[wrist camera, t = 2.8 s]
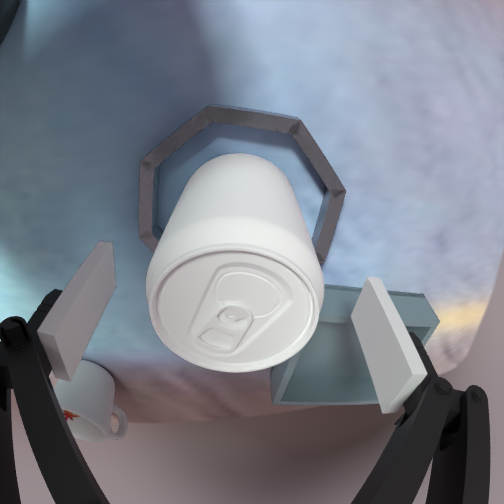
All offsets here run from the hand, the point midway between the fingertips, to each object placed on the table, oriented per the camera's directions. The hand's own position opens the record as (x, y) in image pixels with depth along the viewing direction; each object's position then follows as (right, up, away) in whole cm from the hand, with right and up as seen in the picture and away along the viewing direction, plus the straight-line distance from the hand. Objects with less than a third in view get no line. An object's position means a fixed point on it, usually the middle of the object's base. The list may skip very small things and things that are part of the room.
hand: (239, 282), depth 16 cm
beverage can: (0, +5, +7) cm, 9 cm away
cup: (-18, -14, +19) cm, 30 cm away
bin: (+10, -7, +15) cm, 19 cm away
